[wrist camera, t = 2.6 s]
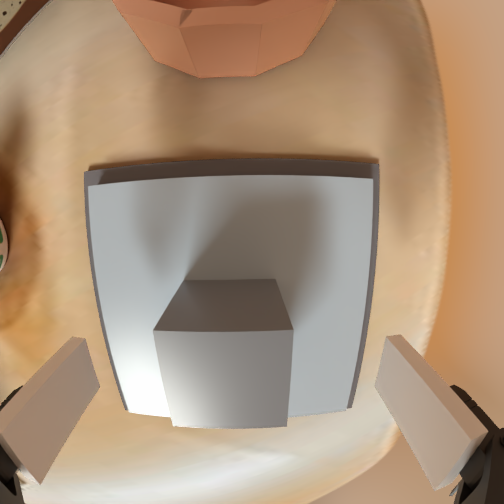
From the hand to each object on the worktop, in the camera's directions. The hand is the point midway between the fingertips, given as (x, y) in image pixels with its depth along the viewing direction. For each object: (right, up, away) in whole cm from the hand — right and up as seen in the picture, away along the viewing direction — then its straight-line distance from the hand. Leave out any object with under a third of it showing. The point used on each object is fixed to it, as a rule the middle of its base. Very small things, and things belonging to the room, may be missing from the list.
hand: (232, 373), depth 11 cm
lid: (0, +1, +6) cm, 6 cm away
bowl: (-1, +21, +2) cm, 21 cm away
